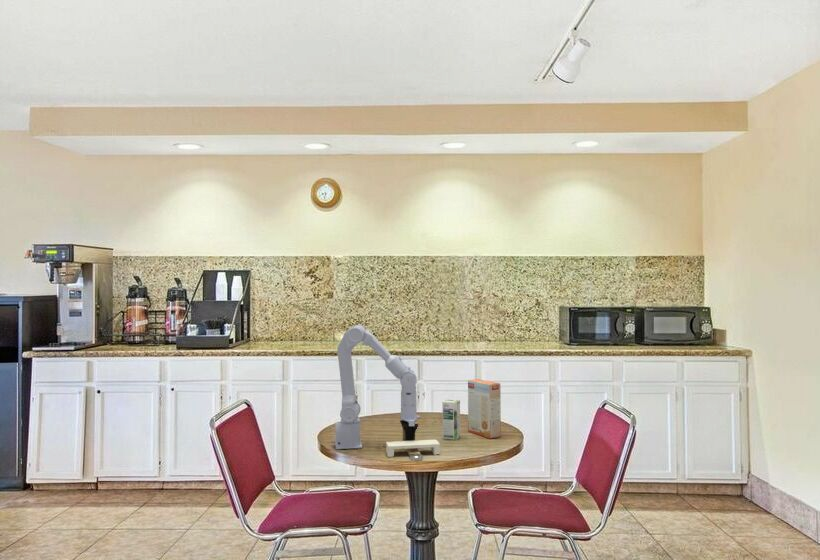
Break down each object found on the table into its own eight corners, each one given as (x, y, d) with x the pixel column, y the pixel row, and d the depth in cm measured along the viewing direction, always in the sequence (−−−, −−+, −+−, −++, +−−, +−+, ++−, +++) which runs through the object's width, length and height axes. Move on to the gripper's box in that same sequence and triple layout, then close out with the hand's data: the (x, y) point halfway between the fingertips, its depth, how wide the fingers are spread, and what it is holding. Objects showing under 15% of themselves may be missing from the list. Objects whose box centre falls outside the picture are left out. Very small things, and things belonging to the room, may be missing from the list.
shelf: (388, 457, 189) (388, 446, 189) (386, 452, 195) (386, 441, 195) (439, 454, 192) (439, 444, 192) (436, 449, 198) (436, 439, 198)
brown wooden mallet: (409, 457, 189) (409, 439, 189) (402, 445, 204) (402, 428, 204) (420, 456, 189) (420, 439, 189) (413, 444, 204) (413, 428, 205)
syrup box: (442, 439, 212) (441, 401, 212) (446, 435, 218) (446, 398, 218) (456, 440, 210) (456, 402, 210) (460, 436, 216) (460, 399, 216)
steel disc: (411, 462, 184) (411, 458, 184) (408, 458, 188) (408, 454, 188) (424, 461, 185) (423, 457, 185) (421, 457, 189) (421, 453, 189)
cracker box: (501, 437, 214) (501, 383, 215) (489, 439, 211) (489, 384, 212) (479, 429, 227) (479, 378, 227) (467, 431, 223) (467, 379, 224)
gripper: (423, 407, 196) (423, 446, 196) (416, 400, 210) (416, 436, 210) (403, 408, 195) (403, 447, 195) (397, 400, 209) (397, 436, 209)
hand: (408, 441), depth 202 cm, fingers closed on brown wooden mallet, 4 cm apart
